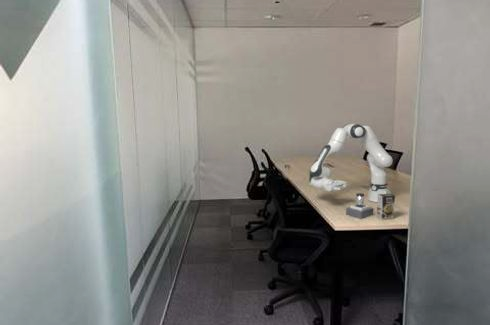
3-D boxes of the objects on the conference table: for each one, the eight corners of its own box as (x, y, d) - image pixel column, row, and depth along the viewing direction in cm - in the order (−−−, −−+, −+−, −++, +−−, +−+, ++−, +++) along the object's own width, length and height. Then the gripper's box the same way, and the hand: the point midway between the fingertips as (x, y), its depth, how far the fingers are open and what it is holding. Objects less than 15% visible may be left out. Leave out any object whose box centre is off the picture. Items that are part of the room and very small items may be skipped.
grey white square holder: (358, 211, 243) (358, 202, 242) (373, 215, 233) (373, 205, 232) (346, 214, 235) (346, 205, 234) (361, 219, 225) (361, 209, 224)
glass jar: (358, 206, 237) (359, 192, 236) (365, 208, 233) (365, 193, 231) (354, 207, 234) (354, 193, 232) (360, 209, 230) (361, 195, 228)
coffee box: (382, 220, 222) (383, 196, 220) (376, 217, 228) (377, 194, 226) (394, 219, 224) (395, 195, 222) (388, 216, 230) (389, 193, 228)
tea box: (324, 183, 339) (324, 169, 337) (325, 185, 329) (325, 170, 327) (308, 183, 340) (309, 169, 338) (309, 185, 331) (310, 170, 328)
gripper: (320, 183, 248) (335, 185, 237) (337, 178, 260) (353, 181, 250) (320, 191, 249) (335, 194, 238) (337, 186, 261) (352, 189, 251)
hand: (344, 187), depth 244 cm, fingers open, 8 cm apart
